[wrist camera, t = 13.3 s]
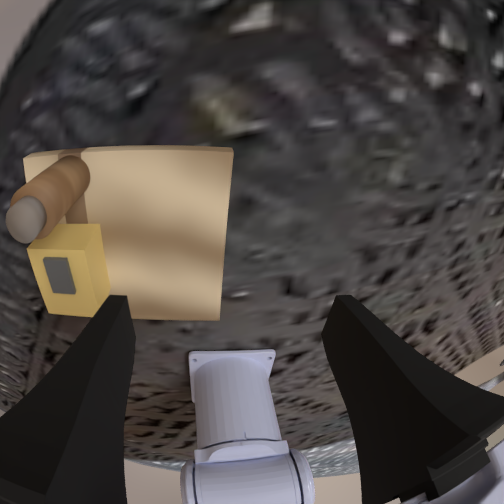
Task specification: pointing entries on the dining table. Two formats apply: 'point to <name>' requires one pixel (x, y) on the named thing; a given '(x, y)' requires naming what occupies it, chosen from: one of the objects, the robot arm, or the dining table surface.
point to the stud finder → (71, 269)
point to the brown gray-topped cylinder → (47, 199)
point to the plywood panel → (156, 223)
